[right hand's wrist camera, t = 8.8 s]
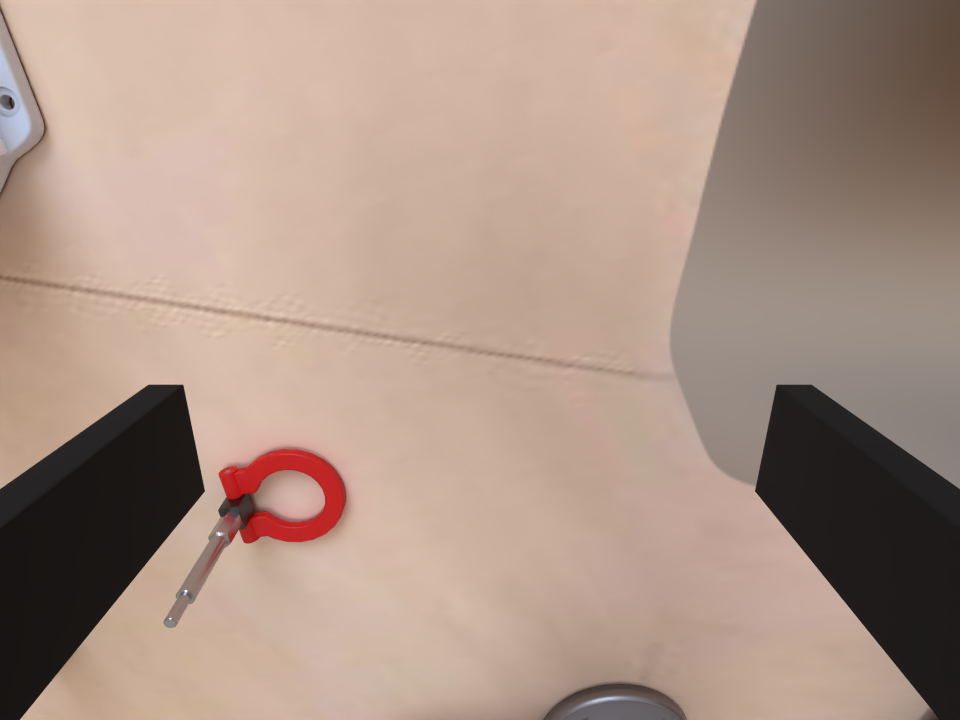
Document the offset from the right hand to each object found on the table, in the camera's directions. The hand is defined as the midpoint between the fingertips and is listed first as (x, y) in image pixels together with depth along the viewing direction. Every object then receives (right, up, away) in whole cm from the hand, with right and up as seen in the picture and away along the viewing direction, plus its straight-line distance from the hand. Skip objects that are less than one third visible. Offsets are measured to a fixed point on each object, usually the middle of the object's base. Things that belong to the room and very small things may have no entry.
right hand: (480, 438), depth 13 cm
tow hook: (-16, -9, +33) cm, 38 cm away
